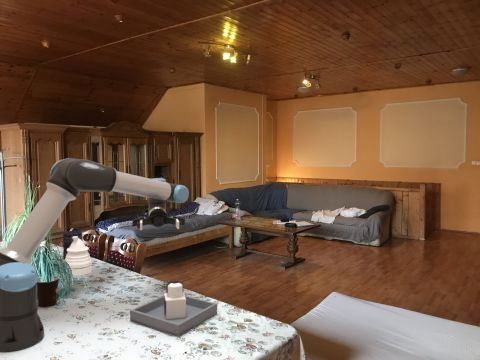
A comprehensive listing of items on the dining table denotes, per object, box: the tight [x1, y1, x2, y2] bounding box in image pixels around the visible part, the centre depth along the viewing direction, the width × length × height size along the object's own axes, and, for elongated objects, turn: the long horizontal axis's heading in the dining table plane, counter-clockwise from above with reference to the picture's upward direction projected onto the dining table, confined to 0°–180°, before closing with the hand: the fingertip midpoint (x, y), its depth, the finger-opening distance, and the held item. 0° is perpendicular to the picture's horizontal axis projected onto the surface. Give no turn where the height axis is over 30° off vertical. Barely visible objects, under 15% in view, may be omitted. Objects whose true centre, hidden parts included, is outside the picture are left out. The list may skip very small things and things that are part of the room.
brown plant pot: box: [37, 275, 60, 308], centre depth 155 cm, size 12×9×10 cm
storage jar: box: [62, 230, 83, 259], centre depth 217 cm, size 10×10×15 cm
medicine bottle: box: [163, 280, 186, 320], centre depth 143 cm, size 7×7×12 cm
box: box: [129, 294, 218, 338], centre depth 143 cm, size 22×22×4 cm
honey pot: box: [65, 236, 93, 277], centre depth 194 cm, size 13×13×18 cm
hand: (159, 226), depth 148 cm, fingers open, 13 cm apart
